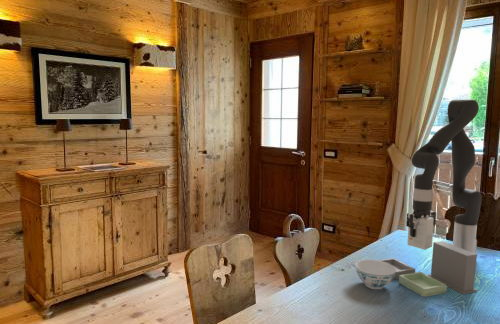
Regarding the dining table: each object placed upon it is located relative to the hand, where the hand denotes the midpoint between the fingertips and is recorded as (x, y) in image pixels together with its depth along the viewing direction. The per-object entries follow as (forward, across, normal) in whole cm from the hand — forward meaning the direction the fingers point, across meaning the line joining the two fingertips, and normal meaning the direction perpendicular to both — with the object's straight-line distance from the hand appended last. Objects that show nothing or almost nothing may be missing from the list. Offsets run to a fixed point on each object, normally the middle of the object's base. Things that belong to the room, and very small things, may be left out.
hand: (420, 235), depth 167 cm
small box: (+5, 0, 0) cm, 5 cm away
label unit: (+15, -2, +16) cm, 22 cm away
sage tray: (+15, +12, +15) cm, 25 cm away
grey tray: (+15, +12, -1) cm, 19 cm away
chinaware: (+15, +30, +8) cm, 34 cm away
